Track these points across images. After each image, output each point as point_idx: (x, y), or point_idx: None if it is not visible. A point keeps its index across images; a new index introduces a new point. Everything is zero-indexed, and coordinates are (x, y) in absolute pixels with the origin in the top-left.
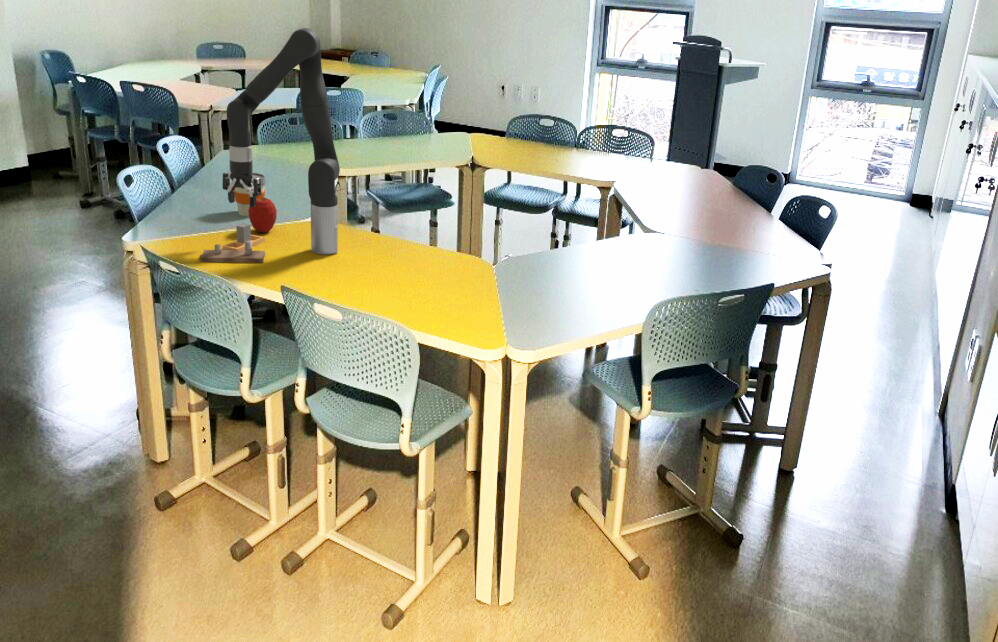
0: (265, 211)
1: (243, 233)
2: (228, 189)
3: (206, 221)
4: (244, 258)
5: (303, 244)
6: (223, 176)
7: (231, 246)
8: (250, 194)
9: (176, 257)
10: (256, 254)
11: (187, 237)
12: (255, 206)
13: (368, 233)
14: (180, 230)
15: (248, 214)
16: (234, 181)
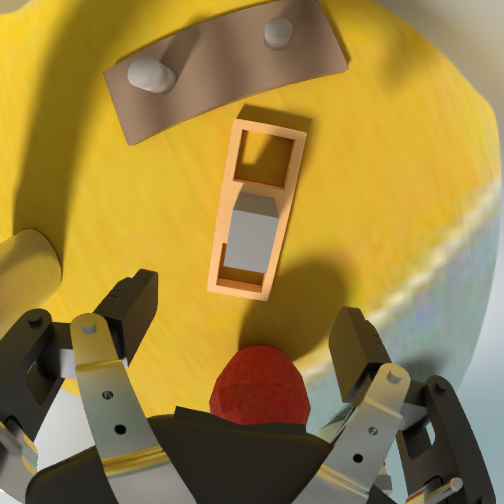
0: (227, 396)
1: (237, 202)
2: (397, 385)
3: (425, 361)
4: (160, 41)
5: (98, 293)
6: (483, 482)
7: (287, 172)
8: (95, 333)
9: (402, 26)
10: (137, 95)
11: (451, 226)
12: (270, 409)
13: (62, 386)
14: (472, 276)
15: (340, 424)
16: (327, 491)
